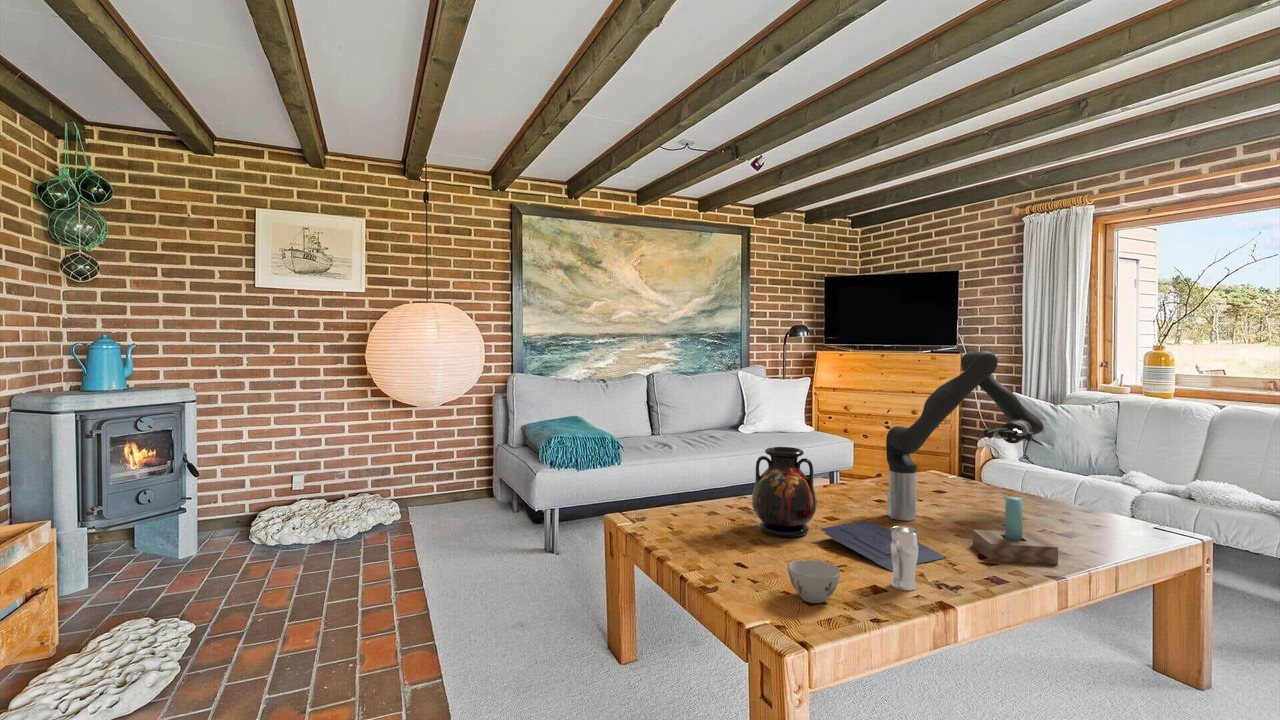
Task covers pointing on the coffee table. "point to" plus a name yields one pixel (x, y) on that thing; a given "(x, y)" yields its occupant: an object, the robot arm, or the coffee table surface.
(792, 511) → the amphora vase
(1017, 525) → the teal pin
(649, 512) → the coffee table surface
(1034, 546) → the walnut block
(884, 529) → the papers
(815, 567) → the teacup
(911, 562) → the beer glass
